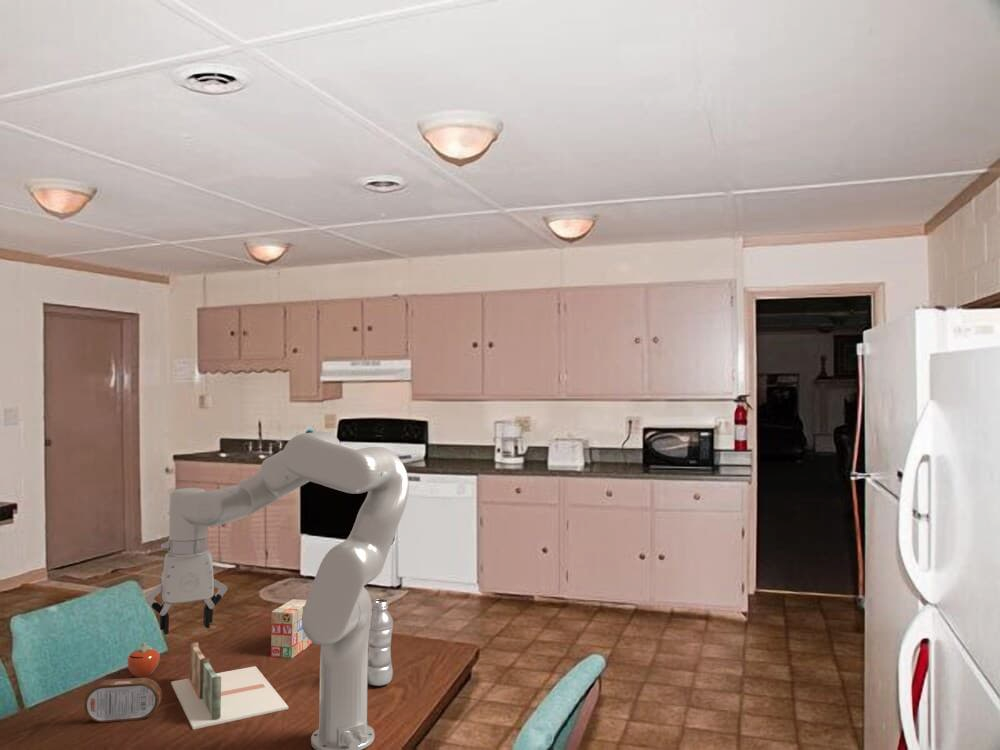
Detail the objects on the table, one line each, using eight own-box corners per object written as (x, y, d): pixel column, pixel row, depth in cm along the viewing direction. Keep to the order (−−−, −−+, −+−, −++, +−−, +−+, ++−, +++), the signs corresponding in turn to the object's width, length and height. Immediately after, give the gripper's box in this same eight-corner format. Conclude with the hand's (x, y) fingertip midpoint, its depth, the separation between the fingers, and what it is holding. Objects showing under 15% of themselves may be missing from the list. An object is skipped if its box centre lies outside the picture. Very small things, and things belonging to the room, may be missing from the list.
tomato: (119, 678, 183) (120, 645, 184) (141, 667, 191) (141, 636, 191) (145, 681, 182) (146, 648, 182) (166, 670, 189) (166, 638, 189)
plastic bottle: (359, 686, 180) (360, 602, 180) (377, 676, 186) (377, 596, 186) (381, 691, 177) (382, 606, 177) (398, 681, 183) (399, 599, 183)
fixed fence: (209, 697, 171) (210, 660, 171) (200, 699, 170) (201, 661, 170) (197, 676, 183) (198, 641, 184) (188, 678, 182) (189, 643, 183)
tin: (161, 713, 164) (162, 675, 164) (158, 719, 161) (159, 680, 161) (86, 719, 160) (87, 680, 161) (81, 726, 157) (82, 685, 158)
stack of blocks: (306, 632, 220) (307, 590, 221) (326, 633, 219) (326, 591, 220) (270, 657, 200) (271, 610, 200) (291, 659, 198) (292, 612, 199)
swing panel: (201, 699, 170) (202, 662, 170) (209, 697, 170) (210, 660, 171) (212, 719, 159) (213, 680, 159) (221, 717, 160) (222, 678, 160)
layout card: (288, 708, 166) (288, 706, 166) (192, 729, 156) (192, 726, 156) (255, 668, 191) (255, 665, 191) (171, 683, 180) (171, 681, 180)
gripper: (145, 554, 152) (143, 641, 151) (234, 545, 161) (232, 627, 161) (141, 547, 158) (139, 631, 158) (226, 539, 168) (225, 618, 167)
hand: (186, 629), depth 159 cm, fingers open, 7 cm apart
